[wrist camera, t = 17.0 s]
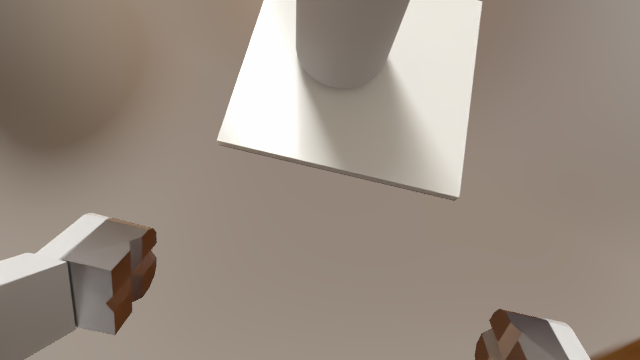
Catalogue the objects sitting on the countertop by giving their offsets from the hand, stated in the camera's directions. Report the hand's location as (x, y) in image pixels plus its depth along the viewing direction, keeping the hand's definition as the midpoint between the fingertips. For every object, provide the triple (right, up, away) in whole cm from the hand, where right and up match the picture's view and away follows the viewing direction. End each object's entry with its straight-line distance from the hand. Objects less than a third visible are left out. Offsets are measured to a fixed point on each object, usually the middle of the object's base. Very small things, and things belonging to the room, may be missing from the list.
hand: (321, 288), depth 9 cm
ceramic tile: (+2, +9, +12) cm, 15 cm away
